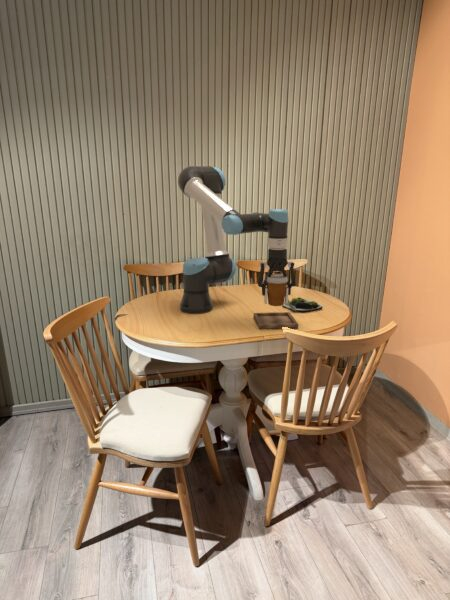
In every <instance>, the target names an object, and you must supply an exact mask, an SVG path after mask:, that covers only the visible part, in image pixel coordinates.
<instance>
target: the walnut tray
mask: <svg viewBox="0 0 450 600" xmlns="http://www.w3.org/2000/svg"><path fill="white" fill-rule="evenodd" d="M291 313H292V312H290V311H282V312H279V311H277V312H275V311H274V312H253V319H254V322H255V321H256V322H255V324H256V326H257V328H258V330H259V329H272V330H283V329H282V327H288V328H292V329H291V330H298V329H299V323H298V321H297V320H296V319H295V318H294V316H293V314H291Z"/></svg>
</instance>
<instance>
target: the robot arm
mask: <svg viewBox="0 0 450 600" xmlns="http://www.w3.org/2000/svg"><path fill="white" fill-rule="evenodd" d="M177 184H178V188H179V190H180V191H181V192H182V193H183V194H184V195H185V196H186V197H188V198H191V199H193V200H194V201H195V202H197V203H198V205H200V207H201V212H202V221H203V228H204V237H205V243H206V244H205V245H206V250H207V251H206V254H205V255H204V257H193V258H189V259H187V260H185V261H184V262H183V265H182V282H183V287H182V288H183V294H182V297H181V301H180V304H179V307H180V308H179V310H180V311H181V312H183V313H187V314H203V313H204V314H205V313H209V312H211V311H212V310H214V309H213V301H212V299H211V296H210V287H209V286H211V285H215V284H220V283H226V282H228V281H231V280H232V279H233V277H234V276H235V274H236V270H237V265H236V262H235V260H234V259H233V257H231V256H230V252H228V251H227V250H226V245H225V237H224V233H225V235H229V236H230V235H232V236H233V235H242V234H249V233H250V234H251V233H259V232H262V233H268V246H267V247H268V250H267V261H265V262H262V261H261V262H260V263H259V265H260V270H259V275H258V280H257V286H258V287H259V288H261V295H262V296H263V298H264V299H263V300H264V301H263V302H264V304H266V305H267V304H268V295H267V281H266V280H267V278H266V276H267V277H271V275H272V274H274V273H275V272H281V274H283V276H284V277H287V278H288V282H287V286H286V292H285V298H284V302H285V303H288V300H289V296H291V293H292V291H291V290H292V287H296V277H295V271H294V270H295V269H294V267H295V263H294V262H293V261H288V258H287V257H288V249H287V248H288V232H289V231H288V230H289V211H288V210H287V209H285V208H271V209H269V211H268V213H263V212H257V211H256V212H250V213H242V214H241V213H240V212H239V211H237V210H236V209H235V208H234V207H232V206H231V205H230V204H228V203H227V202H226V201H225V200H224V199H223V198H221V197H222V192H223V191H224V189H225V186H226V177H225V175H224V172H223V171H222V170H221V169H220V168H219V167H214V166H210V165H209V166H206V165H205V166H194V165H191V166H187V167H185V168H183V169H182V170H181V171H180V173H179V175H178V179H177ZM287 266H288V268H289V276H290V280H289V277H288V274H287V272H286V269H285V268H286V267H287ZM267 267H268V268H269V269H268V270H267V274H266V276H265V277H264V274H265V270H266V268H267ZM265 279H266V280H265Z"/></svg>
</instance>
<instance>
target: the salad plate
mask: <svg viewBox="0 0 450 600" xmlns="http://www.w3.org/2000/svg"><path fill="white" fill-rule="evenodd" d="M282 306H283V307H285V308H286V309H288V310H290V311H292V312H296V313H302V314H303V313H314V312H317V311H319V310H322V308H323V304H322V303H318V302H316V301H313V300H310V299H308V298H307V299H306V298H301V297H300V296H298V297H292V298H291V299H290V300H289V299H288V303H285V301H284V304H283V305H282Z"/></svg>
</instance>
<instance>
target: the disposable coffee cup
mask: <svg viewBox="0 0 450 600" xmlns="http://www.w3.org/2000/svg"><path fill="white" fill-rule="evenodd" d="M265 277H266V278H267V280H266V279H265V278H264V280H266V281H267V285H266V287H267V304H268V305H269V306H272V307H281V306H283V304H284V302H285V292H286V287H287V282H288V279H289V277H288V276H287V277H288V278H287V277H284V276H283V274H282V273H272V275H271V277H267V276H265Z"/></svg>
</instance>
